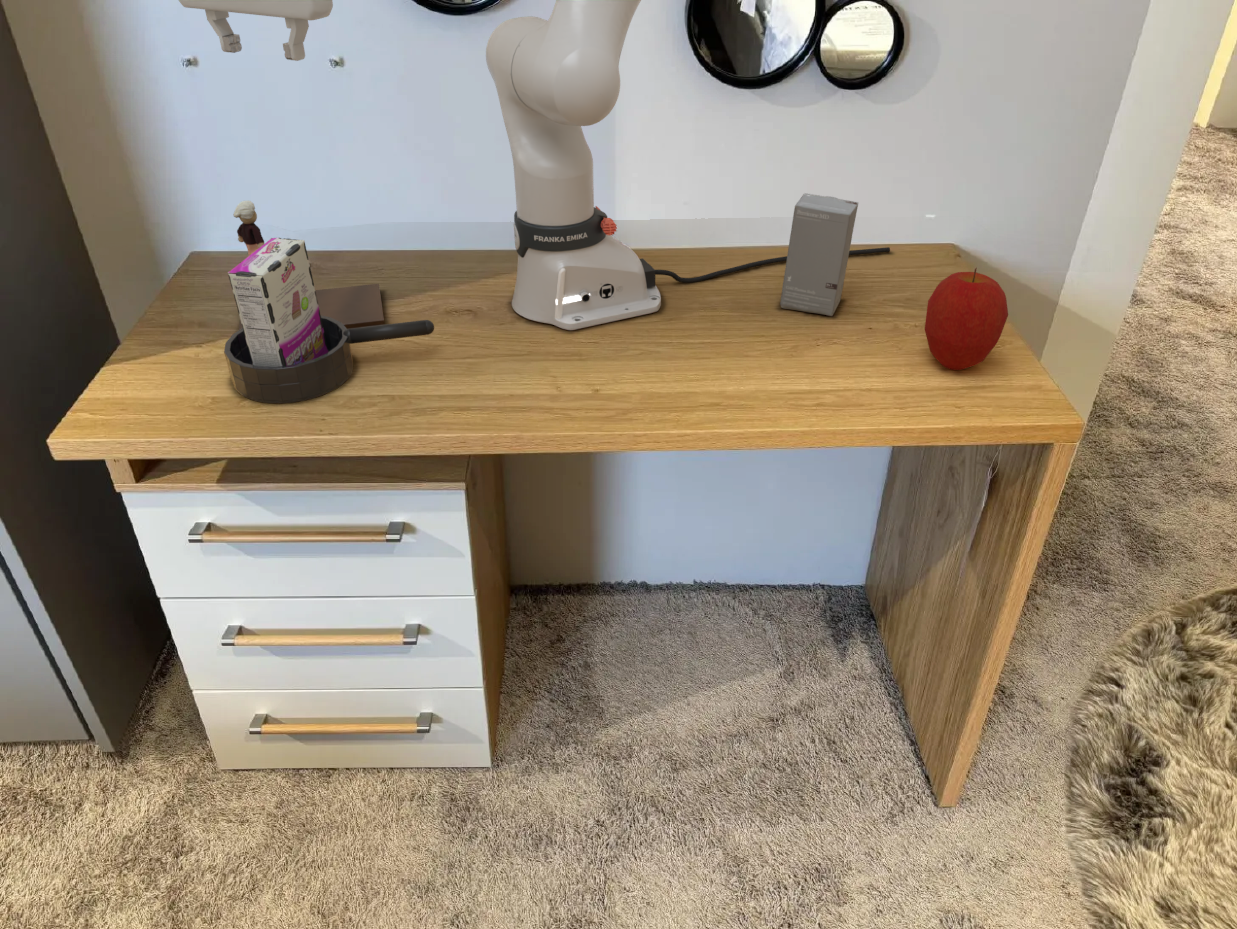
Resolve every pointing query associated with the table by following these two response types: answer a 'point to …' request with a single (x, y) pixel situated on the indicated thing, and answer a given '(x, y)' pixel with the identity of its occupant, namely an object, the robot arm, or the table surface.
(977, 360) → the apple
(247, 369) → the pan
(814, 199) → the cosmetic box
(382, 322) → the cutting board
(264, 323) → the candy bar box
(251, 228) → the grandmother figurine
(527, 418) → the table surface
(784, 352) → the table surface
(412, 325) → the pan handle
